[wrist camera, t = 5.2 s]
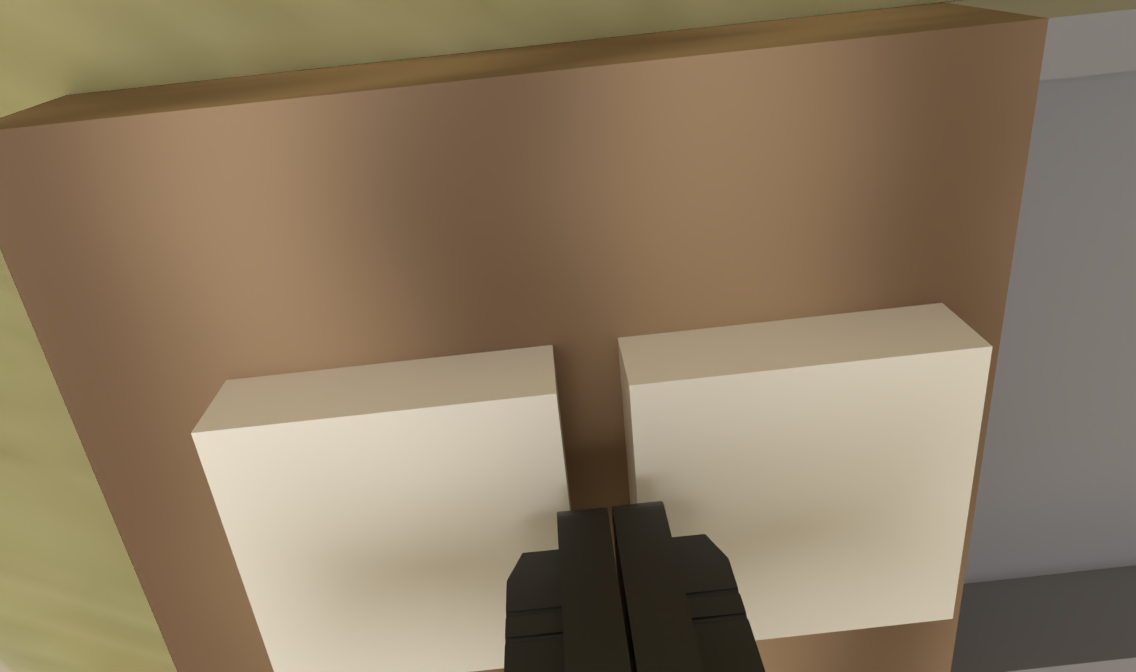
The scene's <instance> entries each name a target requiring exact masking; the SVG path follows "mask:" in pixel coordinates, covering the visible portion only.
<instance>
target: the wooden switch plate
mask: <svg viewBox="0 0 1136 672" xmlns="http://www.w3.org/2000/svg"><path fill="white" fill-rule="evenodd" d="M1048 20H1049V18H1044V17H1038V16H1031V15H1024V14H1018V13H1011V12H1005V11H998V10H992V9H985V8H978V7H972V6H965V5H959V4H952V3H946V2H942V3H932V4H923V5H913V6H904V7H895V8H885V9H876V10H866V11H857V12H847V13H838V14H829V15H819V16H810V17H800V18H791V19H781V20H772V21H763V22H753V23H744V24H734V25H725V26H715V27H706V28H697V29H687V30H678V31H668V32H659V33H649V34H640V35H631V36H621V37H612V38H602V39H593V40H583V41H574V42H565V43H555V44H546V45H536V46H527V47H517V48H508V49H499V50H489V51H480V52H470V53H461V54H451V55H442V56H433V57H423V58H414V59H404V60H395V61H385V62H376V63H367V64H357V65H348V66H338V67H329V68H319V69H310V70H301V71H291V72H282V73H272V74H263V75H253V76H244V77H235V78H225V79H216V80H206V81H197V82H187V83H178V84H168V85H159V86H150V87H140V88H131V89H121V90H112V91H102V92H93V93H84V94H74V95H65V96H63V97H60V98H57V99H54V100H51V101H48V102H45V103H42V104H39V105H37V106H34V107H31V108H28V109H25V110H22V111H19V112H16V113H13V114H11V115H8V116H5V117H2V118H0V249H1V252H2V254H3V257H4V259H5V261H6V264H7V266H8V269H9V271H10V273H11V276H12V278H13V281H14V283H15V285H16V288H17V290H18V292H19V295H20V297H21V300H22V302H23V304H24V307H25V309H26V312H27V314H28V316H29V319H30V321H31V323H32V326H33V328H34V331H35V333H36V335H37V338H38V340H39V343H40V345H41V347H42V350H43V352H44V354H45V357H46V359H47V362H48V364H49V366H50V369H51V371H52V374H53V376H54V378H55V381H56V383H57V385H58V388H59V390H60V393H61V395H62V397H63V400H64V402H65V405H66V407H67V409H68V412H69V414H70V416H71V419H72V421H73V424H74V426H75V428H76V431H77V433H78V436H79V438H80V440H81V443H82V445H83V447H84V450H85V452H86V455H87V457H88V459H89V462H90V464H91V467H92V469H93V471H94V474H95V476H96V479H97V481H98V483H99V486H100V488H101V490H102V493H103V495H104V498H105V500H106V502H107V505H108V507H109V510H110V512H111V514H112V517H113V519H114V521H115V524H116V526H117V529H118V531H119V533H120V536H121V538H122V541H123V543H124V545H125V548H126V550H127V552H128V555H129V557H130V560H131V562H132V564H133V567H134V569H135V572H136V574H137V576H138V579H139V581H140V583H141V586H142V588H143V591H144V593H145V595H146V598H147V600H148V603H149V605H150V607H151V610H152V612H153V614H154V617H155V619H156V622H157V624H158V626H159V629H160V631H161V634H162V636H163V638H164V641H165V643H166V645H167V648H168V650H169V653H170V655H171V657H172V660H173V662H174V665H175V667H176V669H177V672H274V670H273V668H272V665H271V662H270V659H269V656H268V653H267V650H266V647H265V645H264V642H263V639H262V636H261V633H260V630H259V627H258V624H257V622H256V619H255V616H254V613H253V610H252V607H251V604H250V601H249V599H248V596H247V593H246V590H245V587H244V584H243V581H242V578H241V576H240V573H239V570H238V567H237V564H236V561H235V558H234V555H233V553H232V550H231V547H230V544H229V541H228V538H227V535H226V532H225V530H224V527H223V524H222V521H221V518H220V515H219V512H218V509H217V507H216V504H215V501H214V498H213V495H212V492H211V489H210V487H209V484H208V481H207V478H206V475H205V472H204V469H203V466H202V464H201V461H200V458H199V455H198V452H197V449H196V446H195V443H194V441H193V438H192V435H191V432H192V431H193V429H194V428H195V426H196V425H197V423H198V422H199V420H200V419H201V417H202V416H203V414H204V413H205V411H206V410H207V408H208V407H209V405H210V404H211V402H212V401H213V399H214V398H215V396H216V395H217V393H218V392H219V390H220V389H221V387H222V386H223V384H224V383H225V381H226V380H231V379H241V378H250V377H259V376H268V375H278V374H287V373H296V372H305V371H315V370H324V369H333V368H343V367H352V366H361V365H370V364H380V363H389V362H398V361H407V360H417V359H426V358H435V357H444V356H454V355H463V354H472V353H481V352H491V351H500V350H509V349H519V348H528V347H537V346H546V345H553V353H554V362H555V371H556V379H557V388H558V397H559V405H560V414H561V423H562V431H563V440H564V449H565V458H566V466H567V475H568V484H569V492H570V501H571V510H580V509H590V508H599V507H607V508H608V514H609V521H610V528H611V535H612V542H613V549H614V556H615V545H614V534H613V522H612V506H617V505H626V504H630V494H629V481H628V468H627V454H626V441H625V428H624V415H623V402H622V389H621V376H620V363H619V349H618V338H620V337H630V336H639V335H648V334H657V333H667V332H676V331H685V330H695V329H704V328H713V327H722V326H732V325H741V324H750V323H759V322H769V321H778V320H787V319H796V318H806V317H815V316H824V315H833V314H843V313H852V312H861V311H871V310H880V309H889V308H898V307H908V306H917V305H926V304H935V303H943V304H944V305H945V306H947V307H948V308H949V309H950V310H951V311H952V312H954V313H955V314H956V315H957V316H958V317H959V318H960V319H962V320H963V321H964V322H965V323H966V324H967V325H969V326H970V327H971V328H972V329H973V330H974V331H975V332H977V333H978V334H979V335H980V336H981V337H982V338H984V339H985V340H986V341H987V342H988V343H989V344H990V345H992V346H993V347H992V354H991V361H990V368H989V374H988V381H987V388H986V395H985V402H984V409H983V415H982V422H981V429H980V436H979V443H978V450H977V456H976V463H975V470H974V477H973V484H972V491H971V497H970V504H969V511H968V518H967V525H966V532H965V538H964V545H963V552H962V559H961V566H960V573H959V579H958V586H957V593H956V600H955V607H954V614H953V619H947V620H937V621H928V622H919V623H910V624H901V625H892V626H883V627H874V628H865V629H856V630H847V631H837V632H828V633H819V634H810V635H801V636H792V637H783V638H774V639H765V640H756V644H757V647H758V650H759V653H760V656H761V659H762V663H763V666H764V669H765V672H950V671H951V665H952V658H953V652H954V645H955V638H956V632H957V625H958V618H959V612H960V605H961V598H962V592H963V585H964V578H965V572H966V565H967V558H968V552H969V545H970V539H971V532H972V525H973V519H974V512H975V505H976V499H977V492H978V485H979V479H980V472H981V465H982V459H983V452H984V445H985V439H986V432H987V426H988V419H989V412H990V406H991V399H992V392H993V386H994V379H995V372H996V366H997V359H998V352H999V346H1000V339H1001V332H1002V326H1003V319H1004V313H1005V306H1006V299H1007V293H1008V286H1009V279H1010V273H1011V266H1012V259H1013V253H1014V246H1015V239H1016V233H1017V226H1018V219H1019V213H1020V206H1021V200H1022V193H1023V186H1024V180H1025V173H1026V166H1027V160H1028V153H1029V146H1030V140H1031V133H1032V126H1033V120H1034V113H1035V106H1036V100H1037V93H1038V87H1039V80H1040V73H1041V67H1042V60H1043V53H1044V47H1045V40H1046V33H1047V27H1048ZM615 563H616V557H615ZM616 570H617V569H616ZM474 672H504V668H501V669H492V670H483V671H474Z"/></svg>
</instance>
